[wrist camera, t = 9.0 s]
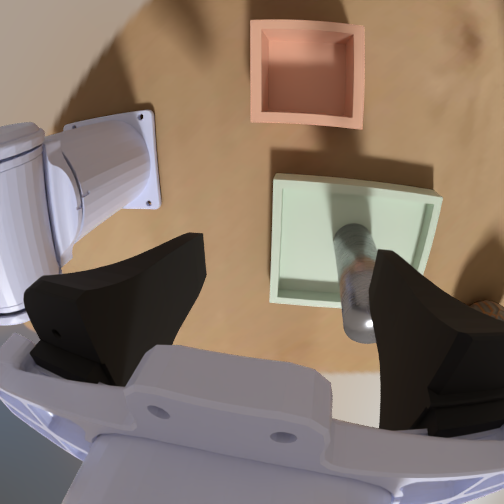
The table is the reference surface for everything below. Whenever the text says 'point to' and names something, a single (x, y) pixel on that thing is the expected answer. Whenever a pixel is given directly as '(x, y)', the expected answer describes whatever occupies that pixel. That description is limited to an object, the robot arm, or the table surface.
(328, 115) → the salmon open box
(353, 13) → the table surface
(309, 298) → the tray
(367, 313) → the dowel
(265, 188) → the table surface
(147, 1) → the table surface
